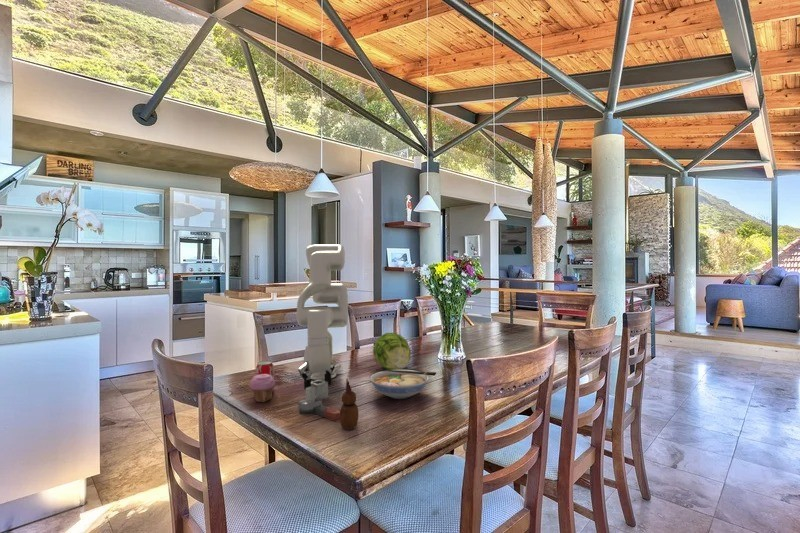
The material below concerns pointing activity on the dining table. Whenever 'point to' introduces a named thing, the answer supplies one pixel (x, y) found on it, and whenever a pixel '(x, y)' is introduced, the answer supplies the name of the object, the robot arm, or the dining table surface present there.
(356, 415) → the wooden figurine
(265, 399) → the cupcake
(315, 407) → the ratchet
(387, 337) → the lettuce
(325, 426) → the dining table surface
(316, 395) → the socket
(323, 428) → the dining table surface
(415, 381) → the ramen bowl
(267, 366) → the soda can
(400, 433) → the dining table surface
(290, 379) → the dining table surface
